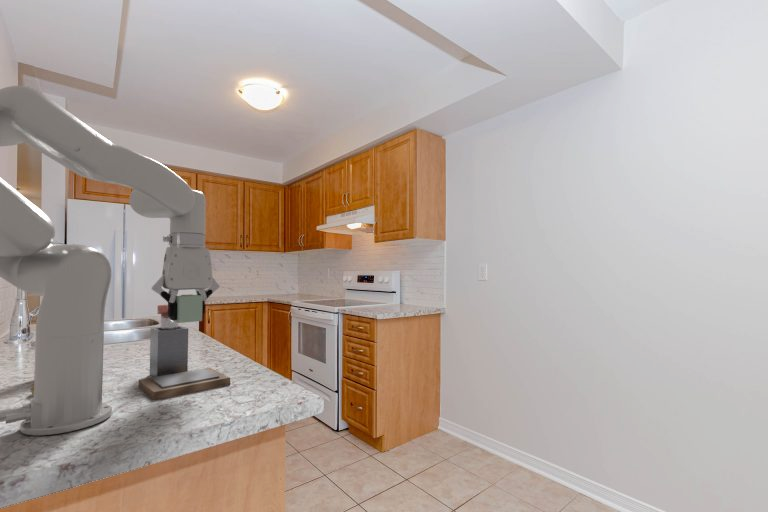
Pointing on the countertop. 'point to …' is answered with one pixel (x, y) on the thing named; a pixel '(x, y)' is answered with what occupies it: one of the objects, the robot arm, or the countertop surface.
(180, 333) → the column
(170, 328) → the push button
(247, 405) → the countertop surface
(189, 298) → the block
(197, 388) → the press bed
